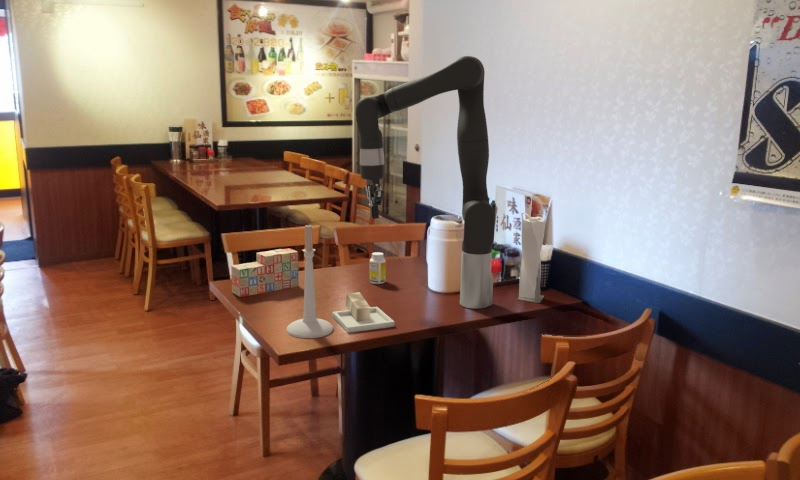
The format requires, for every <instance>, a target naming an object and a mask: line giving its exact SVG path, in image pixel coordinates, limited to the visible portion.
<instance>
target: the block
mask: <svg viewBox="0 0 800 480" xmlns="http://www.w3.org/2000/svg"><path fill="white" fill-rule="evenodd" d="M345 299H346V300H345V307H346V308H347V310H349V311H350V312H351V314H352V315H353V317H354V318H355V320H356V321H364V320H370V307H371V306H370V305H369V303H368V302H367V301H366V299H365V297H364V296H363V294H361V292H360V291H357V292H347V293H346V298H345Z"/></svg>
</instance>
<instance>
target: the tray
mask: <svg viewBox="0 0 800 480" xmlns="http://www.w3.org/2000/svg"><path fill="white" fill-rule="evenodd" d="M332 318H333V319H334V320H335V321H336V323H338V324H339V325H340V327H342V328H343V329H344V331H346V333H355V332H363V331H371V330H378V329H379V330H380V329H387V328H395V326H396V325H395V324H396V323H395V320H393V318H391V317H390V316H388V314H386V313H385V312H384V311H383V310H382V309H380V307H378V306H372V307H371V306H370V320H364V321H356V320H355V318H354V317H353V315H352V314H351V312H350V311H349V309H344V310H336V311H332Z"/></svg>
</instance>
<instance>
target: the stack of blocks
mask: <svg viewBox="0 0 800 480" xmlns="http://www.w3.org/2000/svg"><path fill="white" fill-rule="evenodd" d="M255 253H256V261H252V262H246V263H245V262H244V263H240V264H239V263H238V264H232V265H231V266H230V270H231V271H230V273H231V292H232V293H233V294H234V295H236V296H238V297H240V298H241V297H242V298H243V297H247V296H254V295H259V294H264V293H265V294H266V293H269V292H275V291H279V290H280V291H281V290H287V289H292V288H297V287H299V283H300V282H299V263H300V262H299V251H297V250H295V249H293V248H278V249H272V250H268V251H267V250H266V251H260V252H255Z"/></svg>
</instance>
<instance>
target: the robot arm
mask: <svg viewBox="0 0 800 480" xmlns="http://www.w3.org/2000/svg"><path fill="white" fill-rule="evenodd" d="M485 73H486V72H485V67H484V64H483V62H482V60H481V61H480V59H479V58H477V57H474V56H470V55H464V56H461V57H459V58H458V59H456V60H455V61H453V62H452V63H450V64H448V65H446V66H444V67H443V68H442V69H439V70H437V71H435V72H433V73H430V74H428V75H425V76H422V77H420V78H417V79H416V78H415V79H413V80H410V81H407V82H405V83H401V84H398V85H396V86H393V87H391V88H389V89H387V90H386V91H384V92H381V93H379V94H376V95H374V96H373V95H372V96H367V97H366V96H365V97H361V98H360V99H359V100H358V102H357V103H356V106H355V120H356V125H357V130H358V132H359V149H360V151H359V166H360V169H359V170H360V171H359V172H360V179H362V180H366V182H365V183H366V184H365V186H363V187H364V188H363V189H364V190H363V191H364V194H365V198H366V202H367V204H368V205H369V208H370V219H372V220H376V219H379V217H380V215H379V214H380V213H379V207H380V206H381V205H382V201H383V196H384V190H382V185H381V182H380V180H382V179H384V178H385V177H386V173H385V172H386V168H385V153H384V142H383V139H384V138H383V132H382V130H381V129H380V126H379V119H381V118H384V117H386V116H389V115H390V114H392V113H395V112H399V111H401V110H405V109H407V108H410V107H413V106H415V105H417V104H419V103H420V104H421V103H423V102H425V101H426V100H429V99H431V98H433V97H435V96H438V95H441V94H445V93H448V92H452V91H453V92H454V91H457V95H458V105H459V107H458V108H459V109H458V111H459V112H458V118H457V119H458V120H457V131H456V141H457V154H458V162H459V170H460V174H461V180H462V208H461V209H462V210H461V216H462V218H463V238H462V242H461V260H460V261H461V262H460V263H461V265H460V290H459V291H460V292H459V305H460V306H462V307H463V308H468V309H474V310H475V309H476V310H477V309H478V310H479V309H486V308H488V307H490V306H492V305H493V294H494V293H493V291H494V290H493V289H494V276H493V275H492V258H493V257H492V256H493V255H492V254H493V252H492V251H493V246H494V242H495V241H494V239H495V231H496V230H495V229H496V228H495V227H496V213H495V210H494V208H493V207H492V205H491V204H490V200H489V195H488V186H487V177H488V176H487V174H488V170H489V160H490V148H489V147H490V144H489V133H488V125H487V117H486V112H485V111H486V110H485V104H484V103H485V102H484V99H485V97H484V96H485V95H484V89H485Z"/></svg>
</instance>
